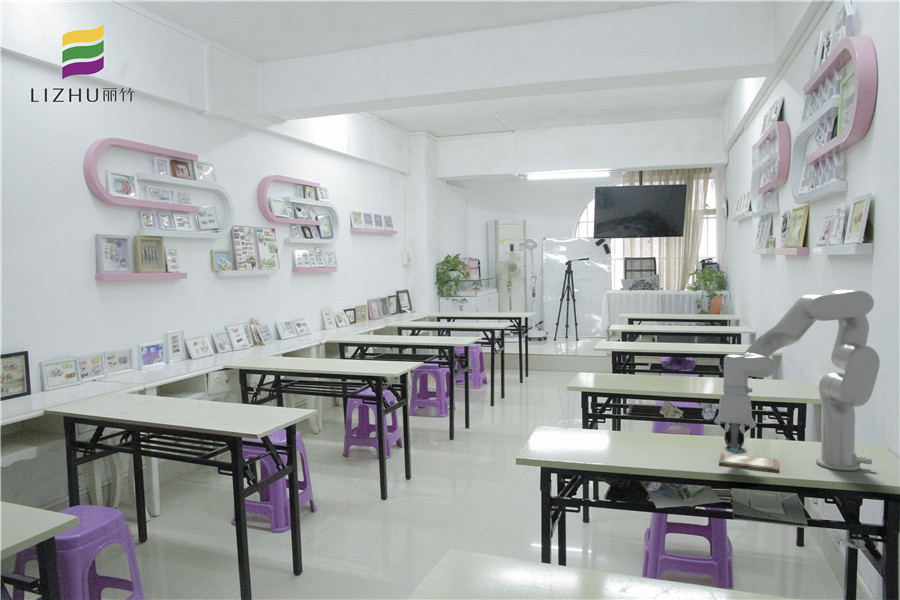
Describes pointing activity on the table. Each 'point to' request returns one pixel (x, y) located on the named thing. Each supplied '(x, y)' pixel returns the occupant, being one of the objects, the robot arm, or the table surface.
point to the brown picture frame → (749, 462)
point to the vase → (729, 443)
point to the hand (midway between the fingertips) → (734, 442)
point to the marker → (734, 436)
